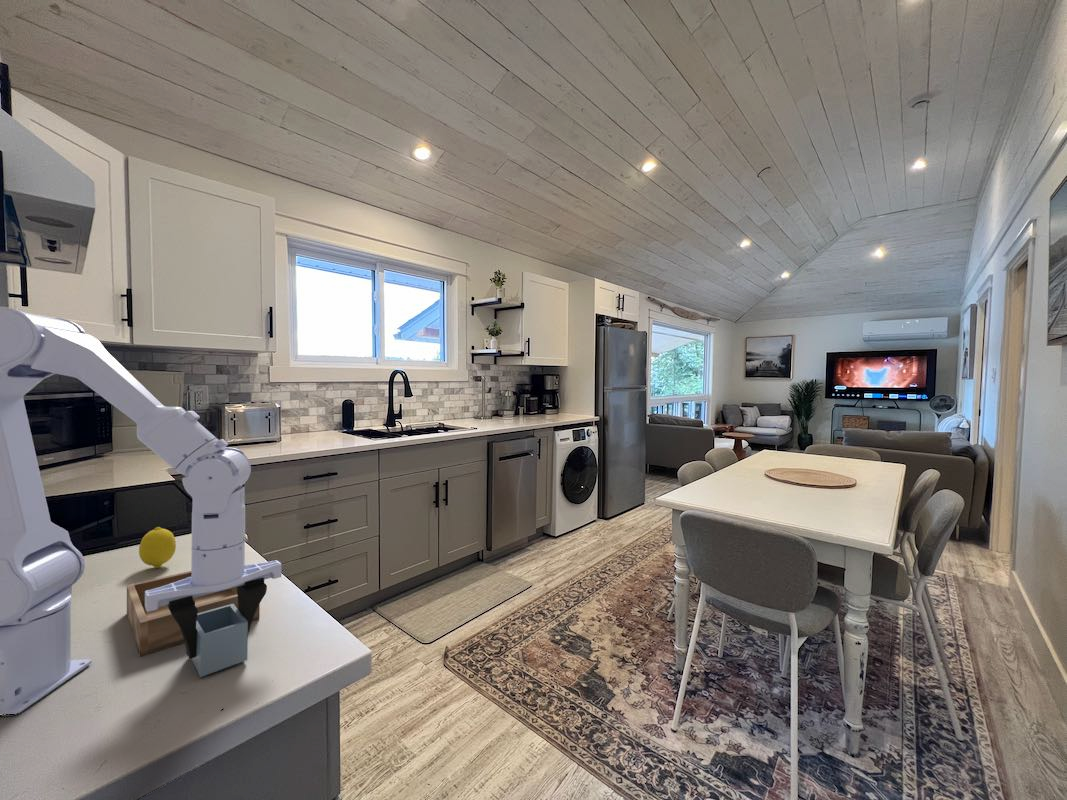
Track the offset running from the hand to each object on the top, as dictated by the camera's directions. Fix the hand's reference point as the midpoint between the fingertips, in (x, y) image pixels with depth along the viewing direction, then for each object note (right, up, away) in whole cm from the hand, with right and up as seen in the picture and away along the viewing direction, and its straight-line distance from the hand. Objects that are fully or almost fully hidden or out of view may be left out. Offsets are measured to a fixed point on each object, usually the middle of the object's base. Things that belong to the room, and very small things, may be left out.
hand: (217, 645), depth 59 cm
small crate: (0, -1, 0) cm, 1 cm away
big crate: (-12, -1, +11) cm, 16 cm away
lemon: (-32, -1, +29) cm, 44 cm away
